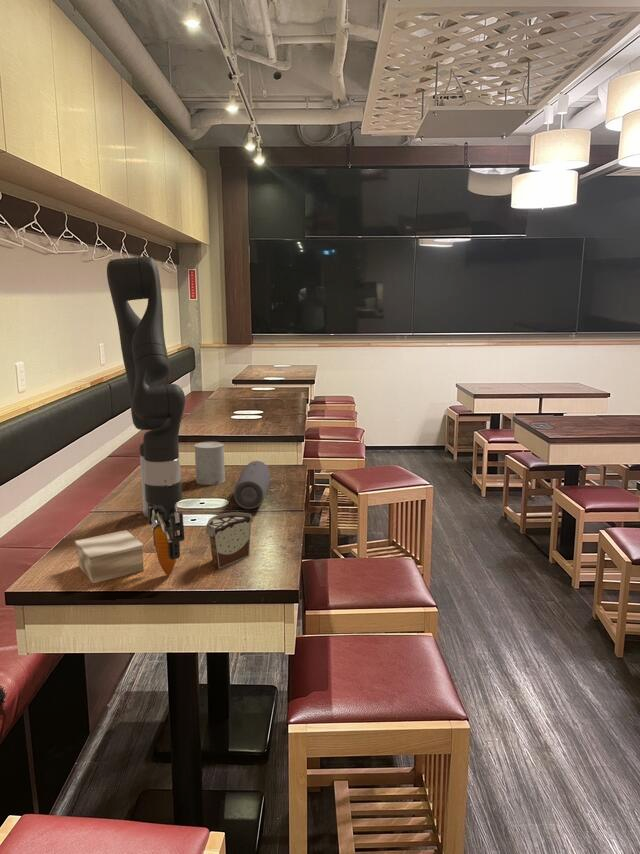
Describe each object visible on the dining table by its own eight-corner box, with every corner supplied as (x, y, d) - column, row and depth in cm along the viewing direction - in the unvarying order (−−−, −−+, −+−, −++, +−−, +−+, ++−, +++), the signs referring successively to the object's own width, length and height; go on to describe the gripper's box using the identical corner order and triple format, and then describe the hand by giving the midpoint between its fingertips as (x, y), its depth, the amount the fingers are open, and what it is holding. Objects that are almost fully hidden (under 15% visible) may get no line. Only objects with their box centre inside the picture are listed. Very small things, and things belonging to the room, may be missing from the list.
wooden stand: (76, 566, 142) (74, 540, 141) (127, 554, 149) (126, 529, 148) (91, 584, 133) (89, 557, 132) (145, 570, 140) (143, 545, 138)
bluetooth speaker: (242, 489, 200) (241, 459, 198) (271, 489, 200) (271, 459, 198) (232, 513, 177) (231, 479, 175) (265, 513, 177) (264, 479, 175)
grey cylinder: (223, 484, 205) (221, 447, 202) (193, 485, 205) (191, 448, 202) (226, 476, 214) (225, 441, 212) (198, 477, 214) (197, 441, 212)
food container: (235, 547, 152) (234, 508, 151) (253, 554, 149) (252, 513, 147) (195, 564, 143) (193, 522, 141) (213, 571, 139) (212, 528, 137)
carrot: (157, 581, 134) (153, 514, 131) (156, 572, 139) (152, 506, 136) (181, 578, 136) (177, 511, 133) (179, 569, 140) (176, 504, 137)
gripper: (133, 474, 136) (138, 545, 140) (158, 490, 125) (162, 567, 128) (166, 469, 141) (170, 538, 144) (193, 483, 129) (196, 558, 132)
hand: (166, 552), depth 136 cm, fingers open, 8 cm apart
